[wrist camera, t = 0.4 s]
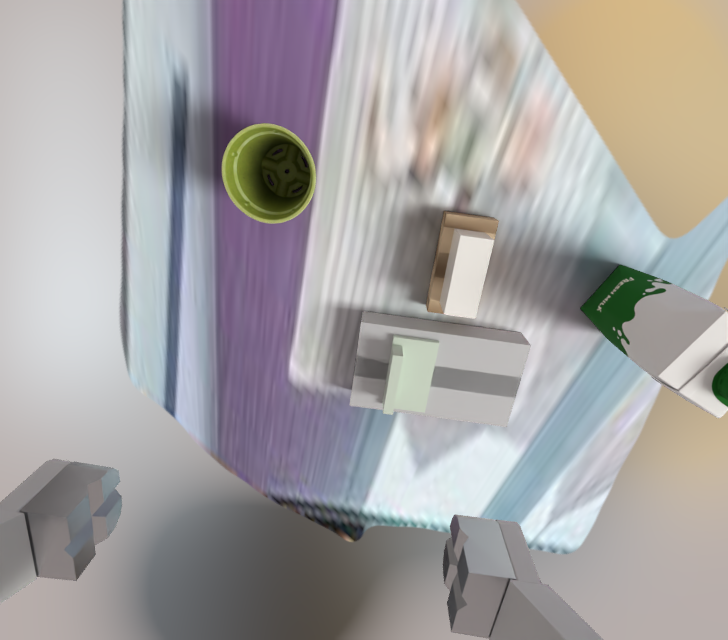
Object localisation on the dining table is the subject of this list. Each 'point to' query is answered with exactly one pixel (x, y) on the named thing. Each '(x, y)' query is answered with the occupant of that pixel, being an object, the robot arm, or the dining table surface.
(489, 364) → the socket
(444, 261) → the holder
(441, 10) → the dining table surface
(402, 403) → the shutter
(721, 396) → the milk carton
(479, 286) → the plug
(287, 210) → the plant pot
